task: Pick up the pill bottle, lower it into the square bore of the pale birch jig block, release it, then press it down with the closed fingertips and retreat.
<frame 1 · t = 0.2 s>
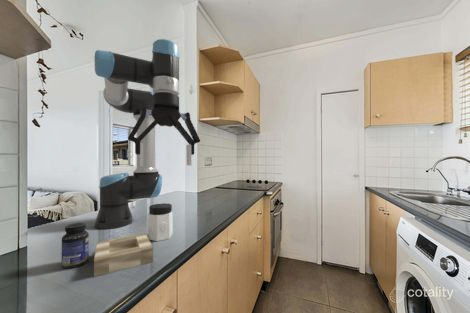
hand: (166, 166, 60), 28 cm above the countertop, fingers open, 13 cm apart
jar: (160, 237, 78), on the countertop
jig: (123, 258, 61), on the countertop
pill bottle: (75, 264, 58), on the countertop
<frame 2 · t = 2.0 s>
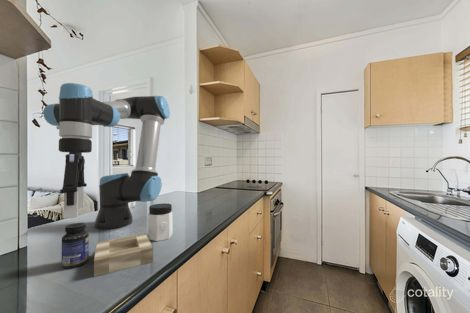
hand: (74, 212, 58), 15 cm above the countertop, fingers open, 13 cm apart
nothing on the countertop moved.
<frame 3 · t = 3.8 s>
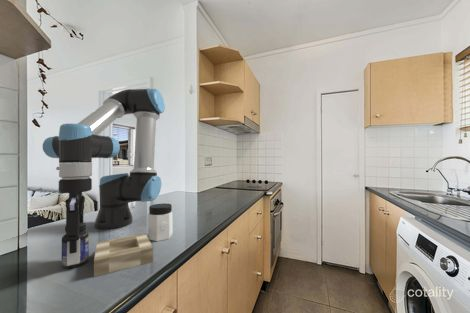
hand: (75, 258, 58), 1 cm above the countertop, fingers closed on pill bottle, 6 cm apart
pill bottle: (75, 264, 58), on the countertop, touching gripper
everything else where it was.
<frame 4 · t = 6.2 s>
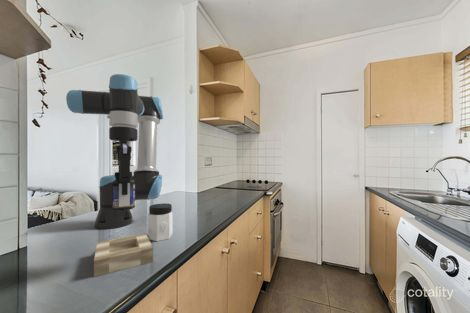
hand: (123, 203, 61), 16 cm above the countertop, fingers closed on pill bottle, 6 cm apart
pill bottle: (123, 209, 61), point 15 cm above the countertop, touching gripper
everything else where it was.
when the fingers open (4 cm above the countertop, at t = 8.6 s): pill bottle drops 3 cm, resting in jig.
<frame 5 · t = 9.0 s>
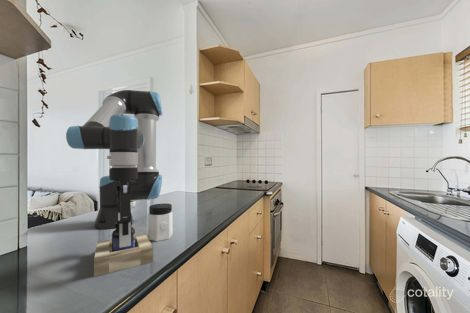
hand: (123, 238, 61), 6 cm above the countertop, fingers open, 12 cm apart
pill bottle: (123, 259, 61), resting in jig
everything else where it was.
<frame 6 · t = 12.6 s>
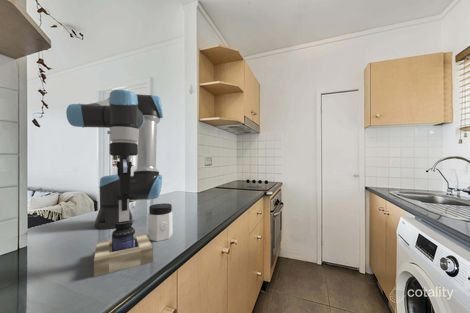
hand: (124, 220, 61), 11 cm above the countertop, fingers closed
pill bottle: (123, 259, 61), resting in jig, touching gripper
everything else where it was.
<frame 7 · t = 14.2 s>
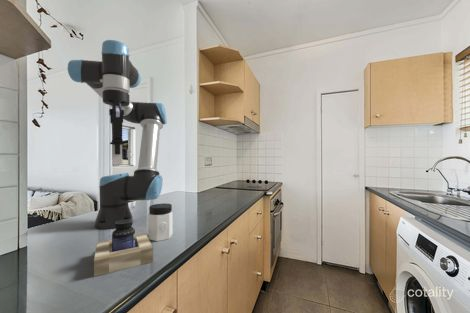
hand: (117, 164, 66), 28 cm above the countertop, fingers closed
pill bottle: (123, 259, 61), resting in jig
everything else where it was.
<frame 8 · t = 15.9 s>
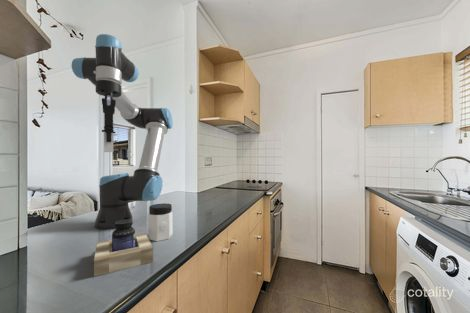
hand: (108, 151, 69), 32 cm above the countertop, fingers closed
nothing on the countertop moved.
at the end: pill bottle 0.0 cm from the jig (horizontally); pill bottle resting in jig; pill bottle tilted 0° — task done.
